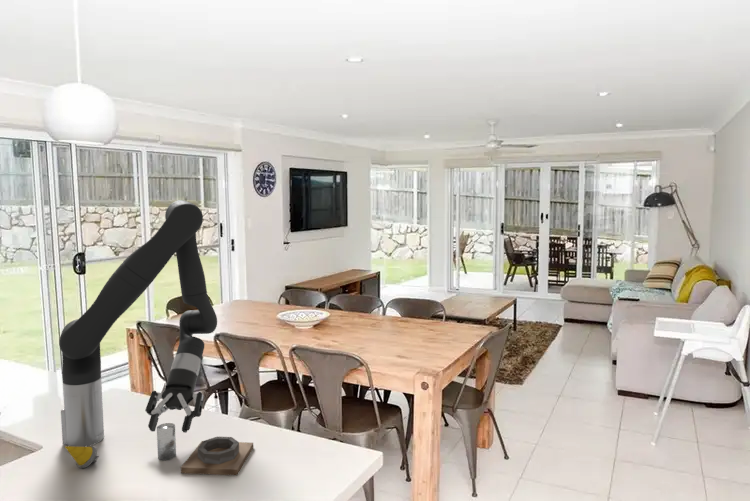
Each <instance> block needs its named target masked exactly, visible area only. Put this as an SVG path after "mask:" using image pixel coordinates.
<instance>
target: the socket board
mask: <svg viewBox="0 0 750 501" xmlns="http://www.w3.org/2000/svg"><path fill="white" fill-rule="evenodd" d="M253 450H254V442H243V441H241V442H239V441H238V440H237V439H236V438H234V437H232V436H214V437H211V438H208V439H205V440H201V441H200V443H199V444H198V445H197V447H195V449H194V450H193V452H191V454H190V455H189V457H187V459H186V460H185V461H184V462H183V464H182V465H181V466H180V474H187V475H189V474H191V475H218V476H219V475H220V476H238V475H239V473H240V472H241V470H242V469H243V466H244V465H245V464H246V461H247V460H248V458H249V457H250V455H251V453H252V451H253Z"/></svg>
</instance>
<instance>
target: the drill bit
mask: <svg viewBox="0 0 750 501" xmlns="http://www.w3.org/2000/svg"><path fill="white" fill-rule="evenodd" d="M64 448H65V449H66V451H68V453H69V454H70V456H71V457H72V458H73V459H74V460H75V463H76V464H75V465H76V466H77V467H78V468H81V469H86V468H87V467H88V466H90V465H91V464H92V463H95V462H97V459H98V458H99V455H97V451H98V450H97V448H96V447H95V446H93V445H89V446H85V447H78V446H68V445H65V446H64Z"/></svg>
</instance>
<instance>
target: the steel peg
mask: <svg viewBox="0 0 750 501" xmlns="http://www.w3.org/2000/svg"><path fill="white" fill-rule="evenodd" d="M156 440H157V442H156V443H157V444H156V445H157V459H158V460H160V461H170V460H172V459H174V458H175V457H176V456H177V446H176V444H177V443H176V441H177V440H176V425H175V423H173V422H172V423H171V422H166V423H165V422H164V423H161V424H159V425H157V426H156Z"/></svg>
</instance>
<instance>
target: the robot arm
mask: <svg viewBox="0 0 750 501" xmlns="http://www.w3.org/2000/svg"><path fill="white" fill-rule="evenodd" d="M165 210H166V211H165V215H164V218H165V219H164V220H165V221H164V222H163V224H162V225H161V226H160V228H158V230H157V231H156V232H155V234H154V235H153V236H152V237H151V238H150V239H149V240H148V241H146V242H145V243H144V244H142V245H141V246H139V247H138V248H137V249H136V250H134V251H132V253H131V254H130V255H128V256H127V257H126V258H125V259H124V260H123V262H121V264H120V265H119V266H118V267H117V268H116V269H115V271H114V272H113V273H112V274H111V276H110V277H109V278H108V280H107V281H106V282H105V283H104V285H103V287H102V289H101V290H100V292H99V293H98V295H97V297H96V298H95V300H94V301H93V303H92V304H91V306H90V307H88V309H87V310H86V311H85V312H84V313H83V314H82V315H81V316H80V317H79V318H78V319H74V320H72V321H70V322H68V323H67V324H65V326H64V328H62V331H61V334H60V337H59V341H58V344H59V345H58V346H59V349H60V351H61V354H62V355H61V356H62V357H61V358H62V362H61V363H62V366H61V367H62V368H61V369H62V371H61V376H62V377H61V379H62V391H63V393H62V394H63V408H62V409H61V410H60V420H61V421H60V422H61V423H60V424H61V438H62V441H61V442H62V445H65V446H78V447H87V446H89V445H91V446H93V445H96V444H98V443H99V442H101V441H103V439H104V437H105V428H104V427H105V426H104V405H103V404H104V403H103V388H102V387H103V385H102V384H103V383H102V365H101V364H102V357H101V356H102V355H101V342H102V340H103V339H104V337H105V336H106V335H107V333H108V332H109V331H110V329H111V328H112V326H113V325H114V324H115V323H116V321H117V320H118V319H119V318H121V316H122V315H123V314H125V312H126V311H127V310H128V309H130V307H131V306H132V305H133V304H134V303H135V302H136V301H137V300H138V299H139V298H140V297H141V296H142V294H143V293H144V292H145V291H147V289H148V288H149V286H150V285H151V284H152V283H153V281H154V280H155V279H156V278H157V277H158V275H160V273H161V271H162V270H163V269H164V267H165V266H166V265H167V264H168V263H169V261H170V259H171V258H172V257H173V256H174V255H176V262H177V270H178V276H179V277H178V279H179V283H180V284H179V285H180V292H181V298H182V301H183V304H186V305H189V306H192V307H195V308H196V309H192V310H190V309H189V310H186V311H184V312H183V313H182V314H181V316H180V317H179V340H178V342H179V343H178V346H177V350H176V353H175V356H174V359H173V361H172V363H171V368H170V370H169V373H168V377H167V379H166V380H167V381H166V383H165V388H164V390H163V392H157V391H156V390H153V391H152V392H150V393H151V394H150V395H149V396H150V397H149V399H148V402H147V404H146V407H145V408H144V409H145V410H144V411H145V412H146V413H147V414H148V415H149V416H150V418H149V422H148V426H147V427H148V428H149V431H150V432H156V430H157V427H158V423H159V422H158V421H159V419H160V418H159V417H160V416H161V415H163V413H166V412H167V411H168V410H170V411H173V410H178V411H181V410H182V409H183V411H184V412H185V414H186V415H184V419H183V423H182V426H181V432H182V433H188V431H190V429H191V425H192V422H193V419H194V418H196V417H197V418H198V417H199V418H200V416H201V415H202V412H203V405H204V400H205V396H204V394H203V392H201V391H198V392H197V393H194V392H195V388H196V385H197V380H198V377H199V374H200V368H201V363H202V362H201V361H202V358H203V355H204V354H203V353H204V349H205V342H204V341H203V339H201V338H200V337H196V336H193V335H209V334H212V333H214V332H215V330H216V329H217V327H218V326H217V325H218V316H217V314H216V311H215V309H214V307H213V305H212V303H211V300H210V298H209V296H208V291H207V290H208V289H207V283H206V277H205V272H204V267H203V264H202V262H201V258H200V254H199V249H198V244H197V232H198V231H199V230H200V228H201V227H202V225H203V222H204V221H203V220H204V216H203V212H202V210H201V209H200V207H199V206H197V205H196V204H194V203H192V202H190V201H187V200H176V201H175V200H174V201H173V202H172V203H170V204H169V205H168V207H167V208H166V209H165ZM161 399H162V400H161ZM160 400H161V401H160ZM193 400H194V402H195V403H194V407H193V408H194V409H193V410H192V409H191V407H190V405H189V404H190V403H191V402H192V401H193ZM159 401H160V402H159Z"/></svg>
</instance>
